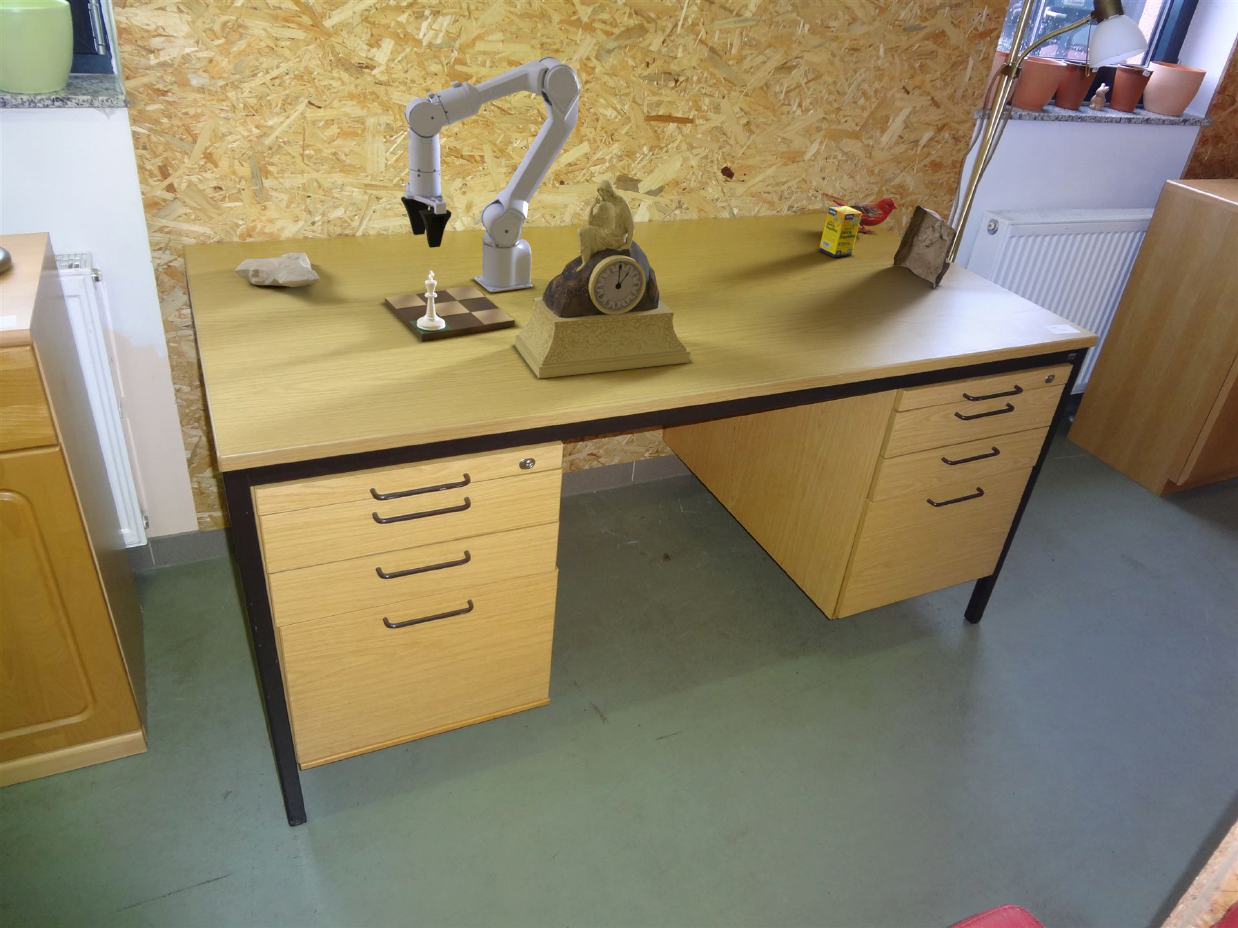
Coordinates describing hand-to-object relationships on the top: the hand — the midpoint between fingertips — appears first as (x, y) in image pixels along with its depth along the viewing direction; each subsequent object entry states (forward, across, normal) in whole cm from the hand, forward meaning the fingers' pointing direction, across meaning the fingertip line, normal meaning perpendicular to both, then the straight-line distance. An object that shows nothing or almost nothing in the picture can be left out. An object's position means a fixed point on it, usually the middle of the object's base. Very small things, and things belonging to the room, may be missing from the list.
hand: (426, 240), depth 167 cm
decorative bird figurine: (+10, 0, +125) cm, 125 cm away
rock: (+10, -12, -26) cm, 30 cm away
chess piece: (+8, +21, -8) cm, 24 cm away
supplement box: (+10, +12, +103) cm, 104 cm away
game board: (+9, +14, -2) cm, 17 cm away
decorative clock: (+10, +40, +16) cm, 44 cm away
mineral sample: (+10, +32, +111) cm, 116 cm away
